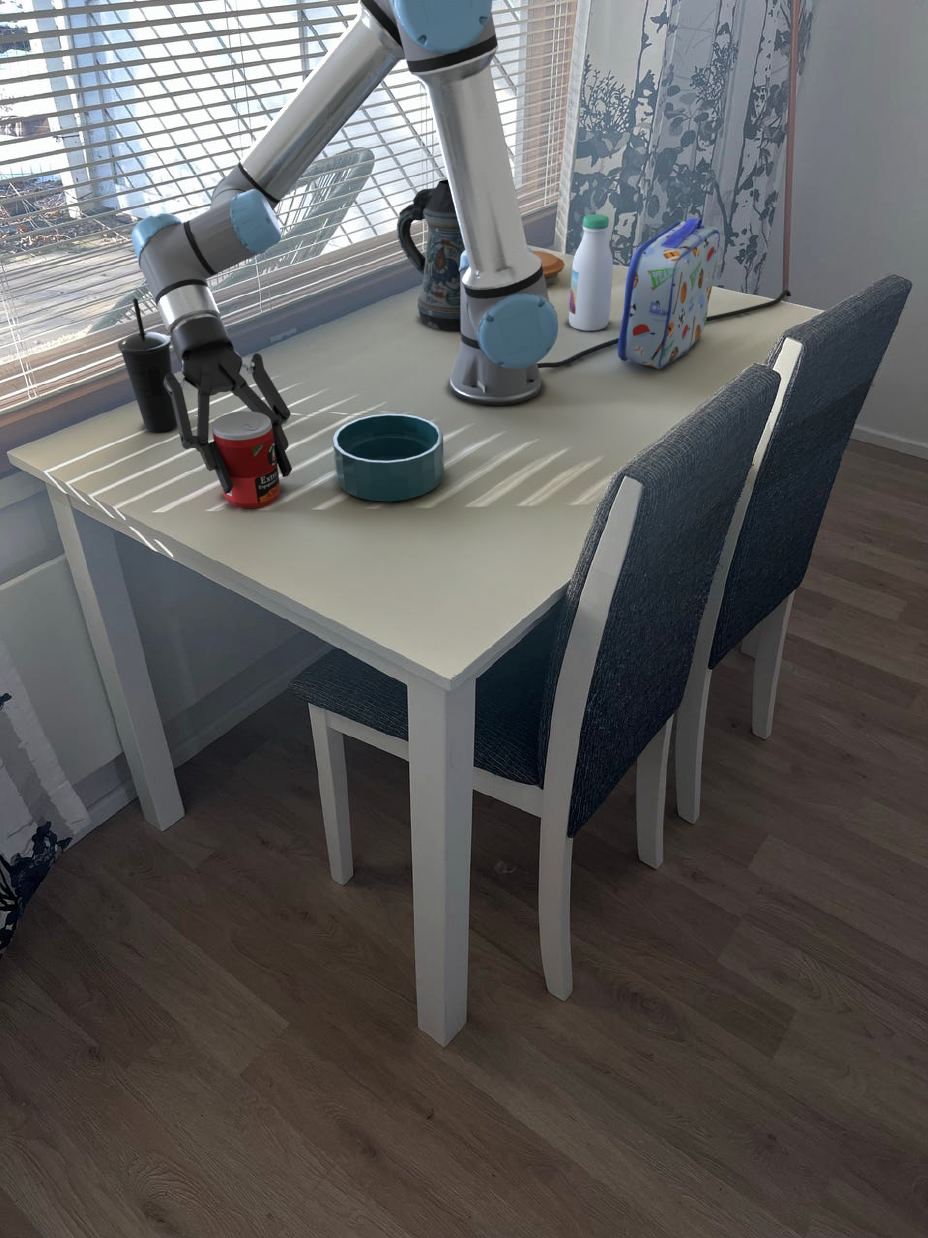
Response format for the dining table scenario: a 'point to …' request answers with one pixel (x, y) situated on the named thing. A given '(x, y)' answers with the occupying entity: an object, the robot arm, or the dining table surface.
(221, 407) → the dining table surface
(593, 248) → the milk bottle
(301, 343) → the dining table surface
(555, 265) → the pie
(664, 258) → the lunch box
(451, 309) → the beer stein
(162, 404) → the drinking cup
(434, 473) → the teal pet bowl
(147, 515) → the dining table surface
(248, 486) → the canned food
